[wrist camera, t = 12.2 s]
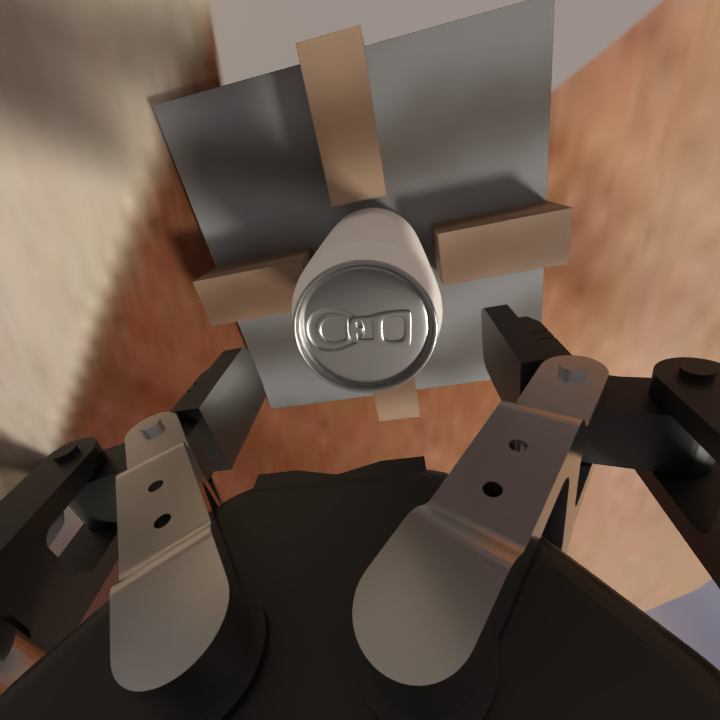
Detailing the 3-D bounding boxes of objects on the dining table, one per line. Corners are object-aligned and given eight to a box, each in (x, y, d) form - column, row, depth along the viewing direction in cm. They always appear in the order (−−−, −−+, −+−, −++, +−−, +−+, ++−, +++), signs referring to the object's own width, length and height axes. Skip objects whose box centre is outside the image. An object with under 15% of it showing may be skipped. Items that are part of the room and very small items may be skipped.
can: (320, 209, 23) (266, 252, 13) (422, 203, 22) (455, 242, 12) (330, 304, 26) (294, 403, 16) (420, 301, 26) (445, 400, 15)
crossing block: (161, 107, 22) (112, 96, 18) (546, 0, 18) (590, -42, 14) (274, 401, 32) (259, 435, 28) (534, 366, 29) (558, 399, 25)
